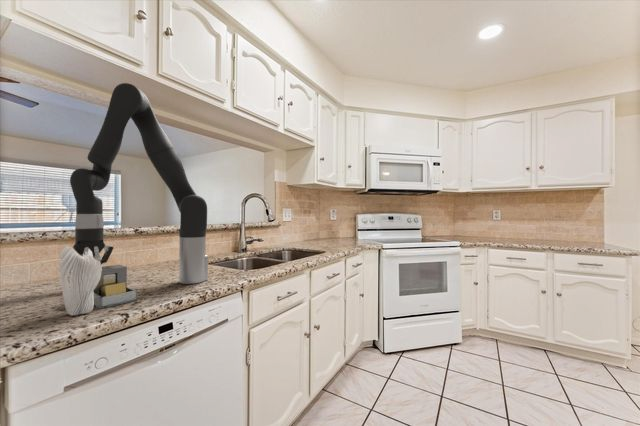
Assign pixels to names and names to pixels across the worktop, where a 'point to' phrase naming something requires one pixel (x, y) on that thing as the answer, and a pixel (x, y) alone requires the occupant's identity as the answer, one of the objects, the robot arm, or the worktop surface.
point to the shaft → (109, 279)
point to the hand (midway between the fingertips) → (89, 276)
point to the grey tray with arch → (119, 278)
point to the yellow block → (113, 289)
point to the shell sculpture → (78, 280)
